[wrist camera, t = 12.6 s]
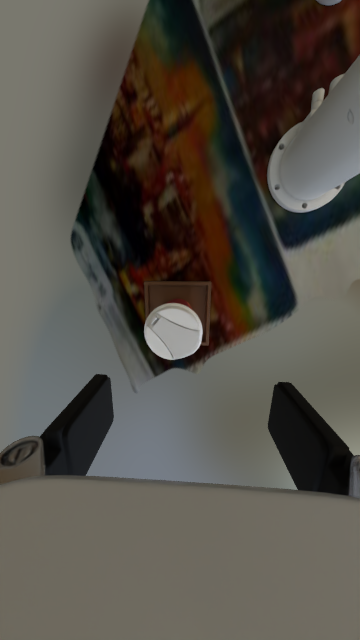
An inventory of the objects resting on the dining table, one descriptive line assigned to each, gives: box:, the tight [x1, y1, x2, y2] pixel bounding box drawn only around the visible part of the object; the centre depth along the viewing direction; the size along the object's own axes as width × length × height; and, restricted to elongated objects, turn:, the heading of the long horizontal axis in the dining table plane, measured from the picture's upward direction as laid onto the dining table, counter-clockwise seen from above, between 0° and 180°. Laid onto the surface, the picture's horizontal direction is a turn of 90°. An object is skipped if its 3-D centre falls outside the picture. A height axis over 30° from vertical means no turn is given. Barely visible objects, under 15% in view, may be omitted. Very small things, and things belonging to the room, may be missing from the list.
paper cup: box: [144, 299, 203, 360], centre depth 30 cm, size 8×8×14 cm
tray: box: [144, 281, 211, 345], centre depth 36 cm, size 12×12×2 cm
